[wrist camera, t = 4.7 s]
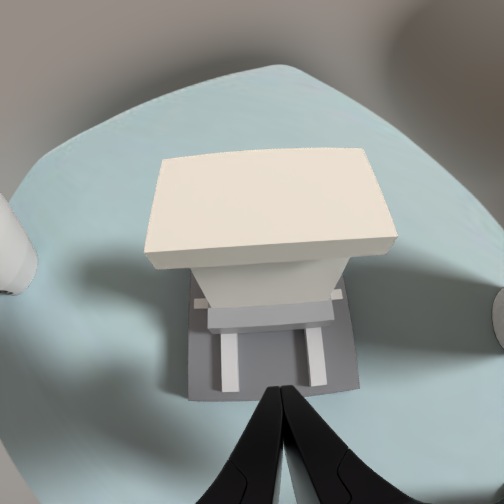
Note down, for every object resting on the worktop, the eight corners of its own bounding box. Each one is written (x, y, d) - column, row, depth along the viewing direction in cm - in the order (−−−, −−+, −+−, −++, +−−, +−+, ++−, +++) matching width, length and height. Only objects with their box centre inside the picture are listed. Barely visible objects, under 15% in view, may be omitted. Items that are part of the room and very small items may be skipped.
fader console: (349, 390, 15) (363, 387, 12) (197, 401, 15) (185, 400, 13) (313, 182, 23) (317, 159, 20) (203, 189, 23) (197, 166, 21)
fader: (337, 325, 14) (400, 242, 7) (204, 334, 14) (142, 259, 7) (325, 257, 16) (360, 145, 9) (205, 265, 16) (163, 156, 9)
